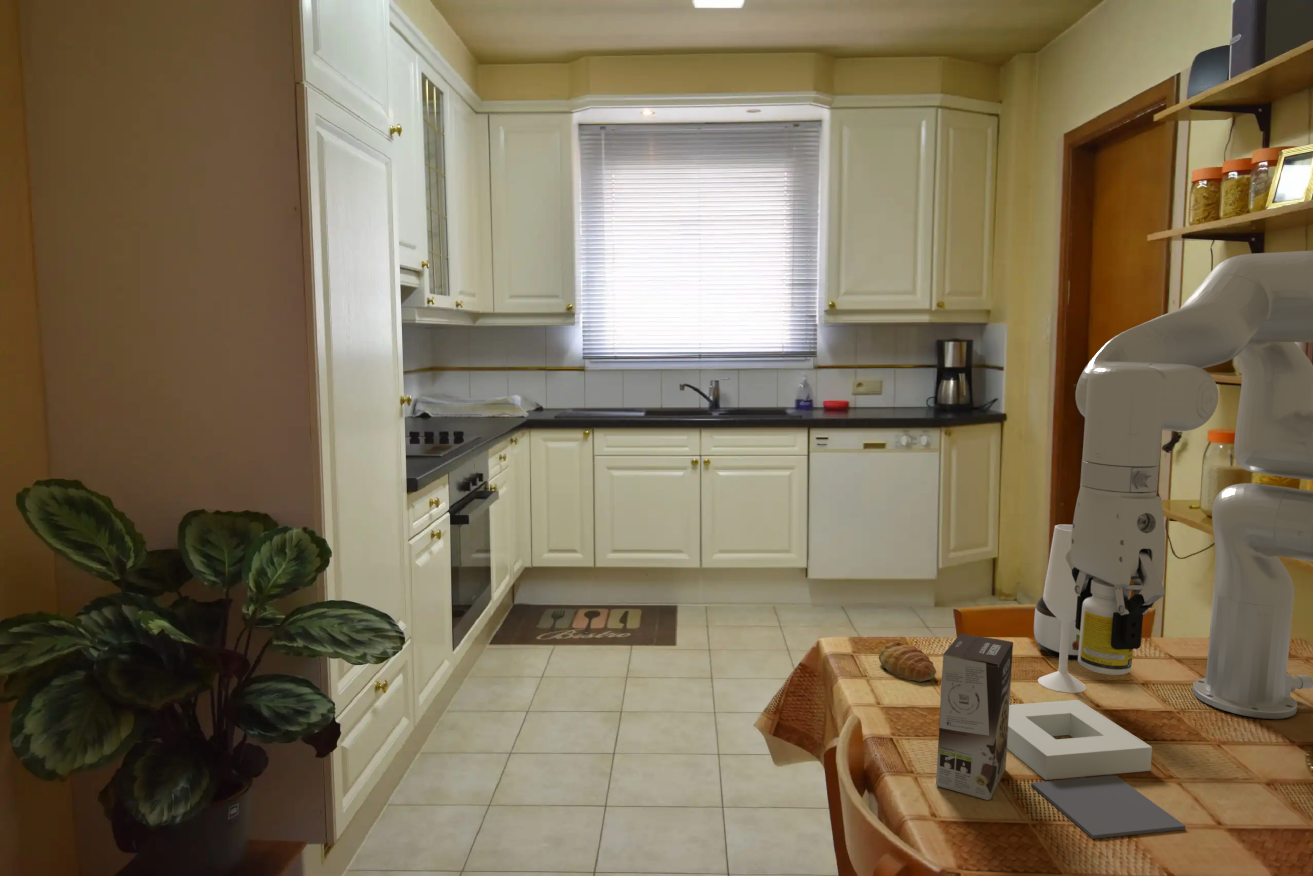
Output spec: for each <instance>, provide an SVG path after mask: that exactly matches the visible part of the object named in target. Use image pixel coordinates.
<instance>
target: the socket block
mask: <svg viewBox="0 0 1313 876" xmlns="http://www.w3.org/2000/svg"><path fill="white" fill-rule="evenodd" d="M1059 736H1070V737H1071V738H1060V739H1058V738H1055V737H1059ZM1007 751H1010V752H1011V754H1013V755H1014V754H1015V755H1014V756H1015V757H1017V758H1018V759H1019V760H1021V762H1023V763H1024V764H1025V765H1027V766H1028V767H1029V768H1030V769H1031V770H1033V771H1034V772H1035V773H1036V774H1037V773H1038V774H1037V775H1039V776H1040V777H1041V778H1042V779H1044V781H1052V780H1063V779H1070V778H1071V779H1075V778H1086V777H1097V776H1108V775H1116V774H1117V775H1118V774H1127V773H1141V772H1151V769H1152V767H1151V766H1152V754H1153V747H1152V745H1149V744H1148V743H1146V742H1145V741H1143V740H1142V739H1140V738H1139V737H1138V736H1135V735H1134V734H1133V733H1131V732H1130V731H1128V730H1126V729H1125V728H1123V727H1121V726H1120V725H1118V724H1117V723H1115V722H1114V721H1112V720H1111V719H1109V718H1108V717H1106V716H1105V715H1103V714H1101V713H1100V712H1098V711H1097V710H1095V709H1093V708H1092V707H1091V706H1089V705H1087V704H1086V703H1084V702H1082V700H1079V699H1072V700H1071V699H1070V700H1058V701H1042V702H1030V703H1016V704H1015V703H1014V704H1009V721H1008V740H1007Z"/></svg>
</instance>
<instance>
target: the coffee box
mask: <svg viewBox="0 0 1313 876" xmlns="http://www.w3.org/2000/svg"><path fill="white" fill-rule="evenodd" d="M1013 649H1014V642H1013V641H1009V640H1004V639H999V638H991V637H986V636H985V637H984V636H975V635H971V634H970V635H968V634H965V633H959V635H958V636H957V637H956V639H955V640H954V641H953V642H952V643H951V644H950V645H949V646H948V648H947V649H946V650H945V651H944V653H943V654H942V657H943V658H942V669H941V672H942V673H941V687H940V688H941V690H940V705H939V708H940V709H939V720H938V722H939V723H938V725H939V726H938V741H937V742H938V743H937V744H938V745H937V758H936V759H937V763H936V777H935V786H937V787H940V788H943V789H947V790H951V791H954V792H958V793H960V794H961V793H962V794H964V795H967V796H968V795H969V796H972V797H975V798H977V799H978V798H979V799H981V800H986V801H989V800H991V799H992V796H993V794H995V791H996V789H997V787H998V784H999V783H1000V781H1001V779H1002V777H1003V775H1004V773H1005V771H1006V769H1007V768H1006V767H1007V755H1008V749H1007V740H1008V721H1009V705H1010V703H1011V702H1010V701H1011V683H1012V681H1011V680H1012V667H1013V666H1012V664H1013V651H1014V650H1013Z"/></svg>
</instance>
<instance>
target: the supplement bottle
mask: <svg viewBox="0 0 1313 876" xmlns="http://www.w3.org/2000/svg"><path fill="white" fill-rule="evenodd" d="M1094 578H1095V577H1094ZM1091 593H1092V594H1093V595H1092V597H1088V598H1086V599H1085V600H1084V602H1083V605H1082V615H1081V627H1080V639H1079V650H1078V660H1077V662H1078V664H1079V665H1080V666H1081V667H1083V668H1085V669H1087V670H1089V671H1091V672H1095V673H1099V674H1103V675H1104V674H1105V675H1114V676H1115V675H1117V676H1119V675H1126V674H1128V673H1129V672H1131V669H1132V664H1133V650H1134V649H1122V650H1116V649H1114V648H1112V647H1111V635H1112V621H1113V613H1114V612H1118V608H1117V601H1116V594H1115V587H1114V585H1112V584H1109V583H1107V582H1105V581H1102V580H1100V579H1097V578H1095V579H1092V581H1091ZM1131 595H1132V590H1127V596H1128V600H1129V599H1130V598H1131V597H1132V596H1131Z"/></svg>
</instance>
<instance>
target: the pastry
mask: <svg viewBox="0 0 1313 876" xmlns="http://www.w3.org/2000/svg"><path fill="white" fill-rule="evenodd" d="M878 660H879V663H880V664H881V666H882V668H883V669H884V668H885V669H886V670H887V672H889V673H891V672H892V673H891V674H893V673H894V674H893V675H896V676H897V675H898V677H900V676H901V677H900V678H902V679H905V680H909V681H916V682H919V683H920V682H925V681H929V680H933V679H934V677H935V676H936V674H937V670H936V668H935V666H934V663H933V661H931V660H930V657H929V656H928V655H926V654H925V653H924V652H923V651H922V650H921V649H918V648H917V647H916V646H915V645H907V644H906V643H905V642H903V641H899V640H897V641H894V640H893V641H892V642H890V643H889V644H885V646H884V647H883V648H882V650H881V651H880V653H879V654H878Z"/></svg>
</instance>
